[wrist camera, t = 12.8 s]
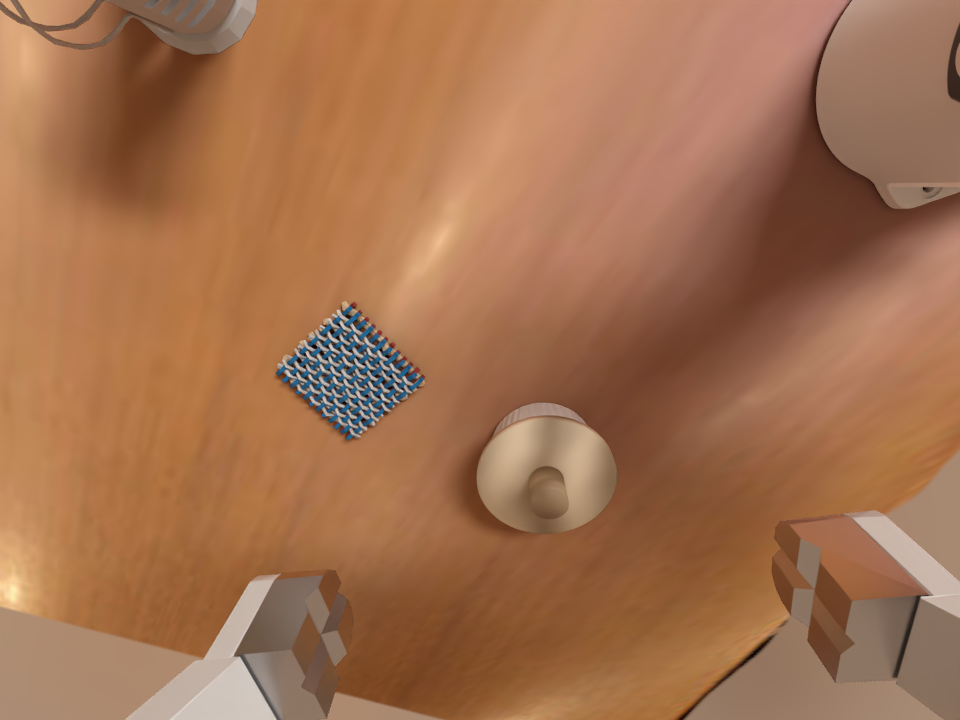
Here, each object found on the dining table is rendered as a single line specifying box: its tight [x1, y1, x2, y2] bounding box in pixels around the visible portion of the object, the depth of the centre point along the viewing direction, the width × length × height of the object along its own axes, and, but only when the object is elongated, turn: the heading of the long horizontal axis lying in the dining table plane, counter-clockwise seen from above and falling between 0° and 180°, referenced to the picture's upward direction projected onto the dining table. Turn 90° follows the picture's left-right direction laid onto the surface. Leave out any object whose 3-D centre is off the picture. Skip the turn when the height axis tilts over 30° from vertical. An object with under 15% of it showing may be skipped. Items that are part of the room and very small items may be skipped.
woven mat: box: [275, 301, 425, 440], centre depth 41 cm, size 10×11×2 cm
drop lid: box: [477, 415, 617, 534], centre depth 37 cm, size 12×12×4 cm
